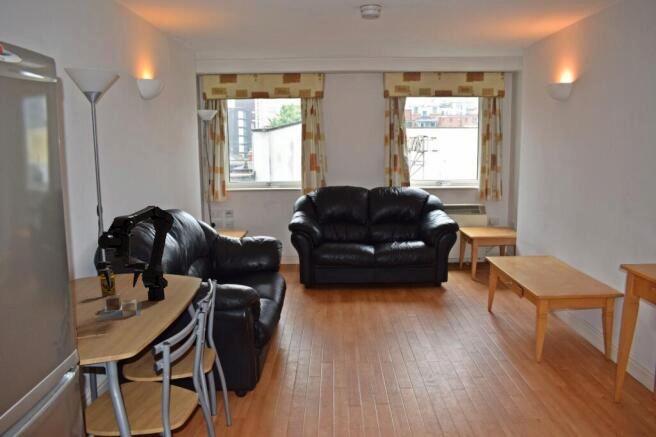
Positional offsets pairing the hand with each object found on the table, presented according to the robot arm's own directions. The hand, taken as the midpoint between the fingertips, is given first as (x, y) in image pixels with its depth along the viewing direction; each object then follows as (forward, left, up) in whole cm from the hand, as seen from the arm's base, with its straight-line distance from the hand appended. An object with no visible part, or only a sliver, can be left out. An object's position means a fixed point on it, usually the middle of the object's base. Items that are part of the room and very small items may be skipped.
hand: (121, 287), depth 216 cm
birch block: (-2, +1, -11) cm, 11 cm away
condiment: (+10, -34, -12) cm, 38 cm away
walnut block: (+5, -9, -11) cm, 15 cm away
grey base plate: (+2, -4, -12) cm, 13 cm away
